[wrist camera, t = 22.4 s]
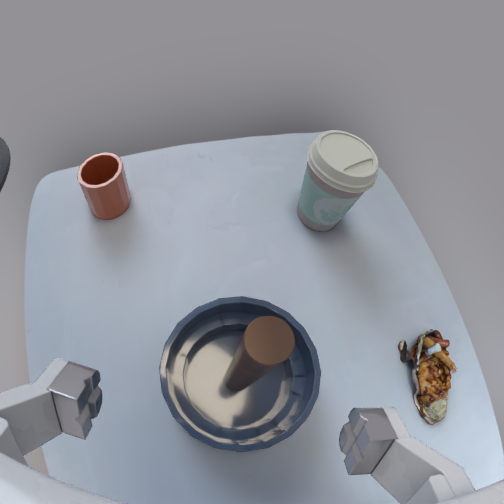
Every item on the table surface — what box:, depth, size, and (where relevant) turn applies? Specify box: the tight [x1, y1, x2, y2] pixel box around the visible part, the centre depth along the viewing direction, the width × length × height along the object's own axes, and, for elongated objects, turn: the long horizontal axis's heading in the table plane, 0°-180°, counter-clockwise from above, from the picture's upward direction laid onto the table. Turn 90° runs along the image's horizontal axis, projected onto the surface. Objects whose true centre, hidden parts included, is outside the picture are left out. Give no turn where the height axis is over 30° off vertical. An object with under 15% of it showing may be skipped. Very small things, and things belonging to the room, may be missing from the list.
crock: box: [77, 153, 130, 219], centre depth 37 cm, size 6×6×6 cm
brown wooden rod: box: [224, 316, 295, 391], centre depth 24 cm, size 3×3×18 cm
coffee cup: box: [297, 130, 378, 231], centre depth 38 cm, size 8×8×12 cm
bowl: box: [159, 296, 321, 452], centre depth 29 cm, size 14×14×6 cm
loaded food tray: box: [399, 329, 457, 424], centre depth 33 cm, size 7×12×4 cm, turn 13°
